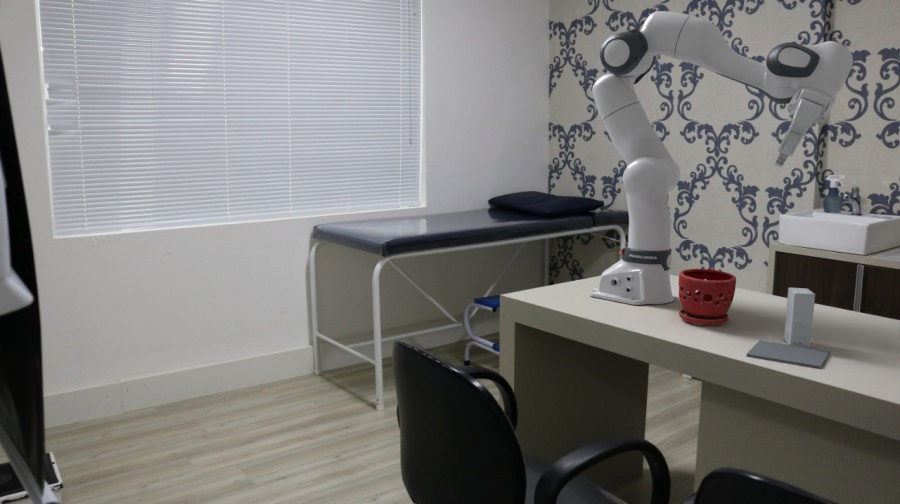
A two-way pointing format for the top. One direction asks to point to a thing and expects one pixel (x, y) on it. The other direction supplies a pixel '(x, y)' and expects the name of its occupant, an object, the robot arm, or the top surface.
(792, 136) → the robot arm
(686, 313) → the plant pot
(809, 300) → the skincare box
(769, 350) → the slate mat
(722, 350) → the top surface
